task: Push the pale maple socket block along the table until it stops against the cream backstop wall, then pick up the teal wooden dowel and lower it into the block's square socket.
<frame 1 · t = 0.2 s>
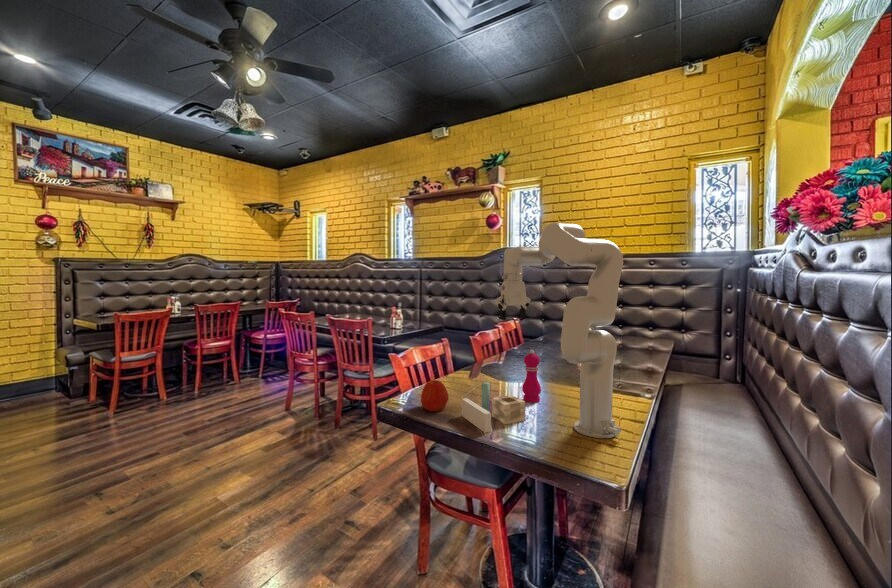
hand: (512, 319, 156), 31 cm above the table, tool pointing down, fingers open, 9 cm apart
block: (508, 409, 127), point 3 cm above the table, slide at 0.0 cm
wall: (475, 423, 123), on the table
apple: (434, 408, 138), on the table
pepper mill: (531, 400, 146), on the table
dowel: (485, 410, 135), on the table
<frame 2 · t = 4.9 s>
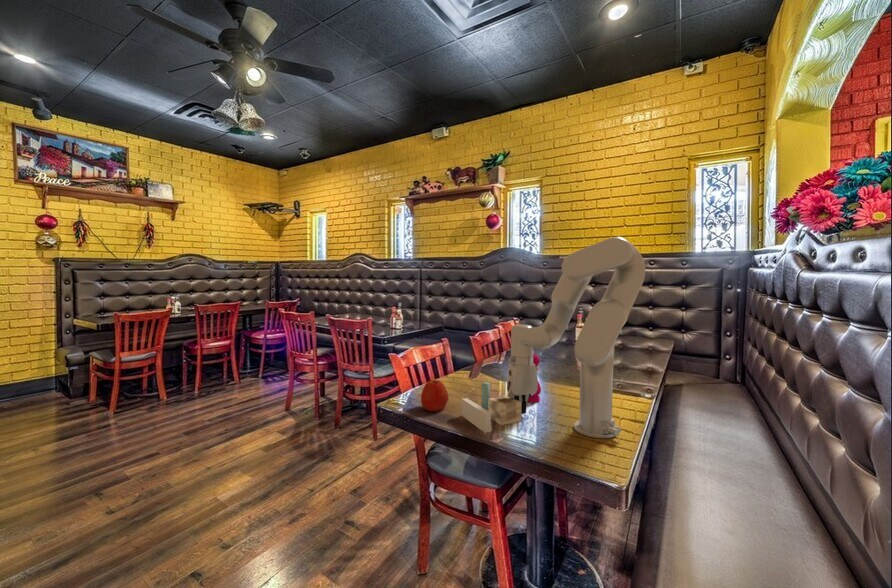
hand: (521, 412, 130), 1 cm above the table, tool pointing down, fingers closed
block: (504, 409, 127), point 3 cm above the table, slide at 1.5 cm, touching gripper
everything else where it was.
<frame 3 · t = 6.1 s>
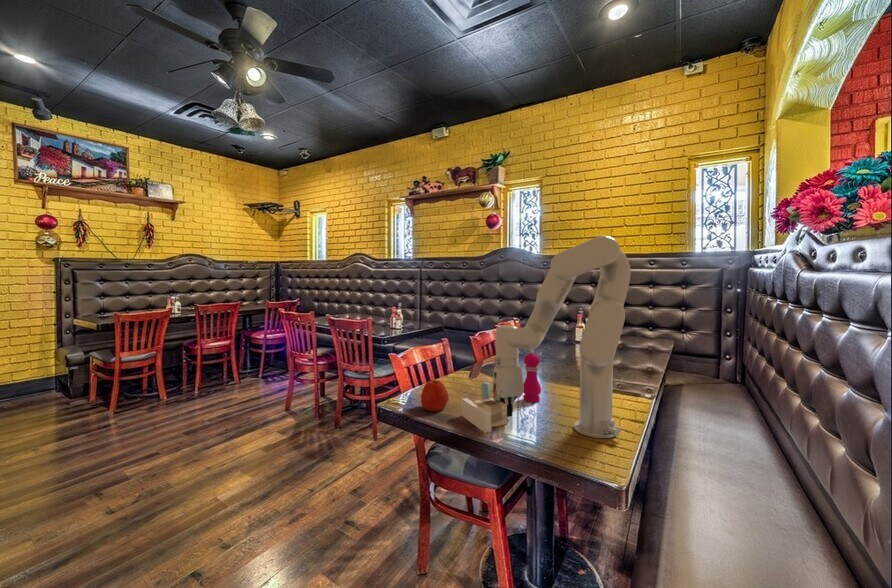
hand: (507, 415, 127), 1 cm above the table, tool pointing down, fingers closed
block: (490, 412, 124), point 3 cm above the table, slide at 7.3 cm, touching gripper, wall
everything else where it was.
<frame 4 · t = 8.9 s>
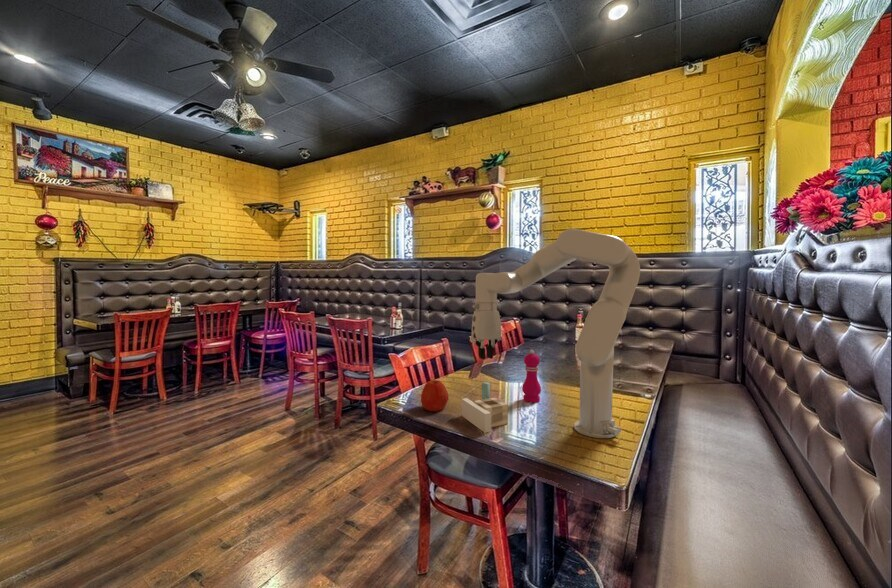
hand: (485, 357, 134), 19 cm above the table, tool pointing down, fingers closed
block: (490, 412, 124), point 3 cm above the table, slide at 7.0 cm
everything else where it was.
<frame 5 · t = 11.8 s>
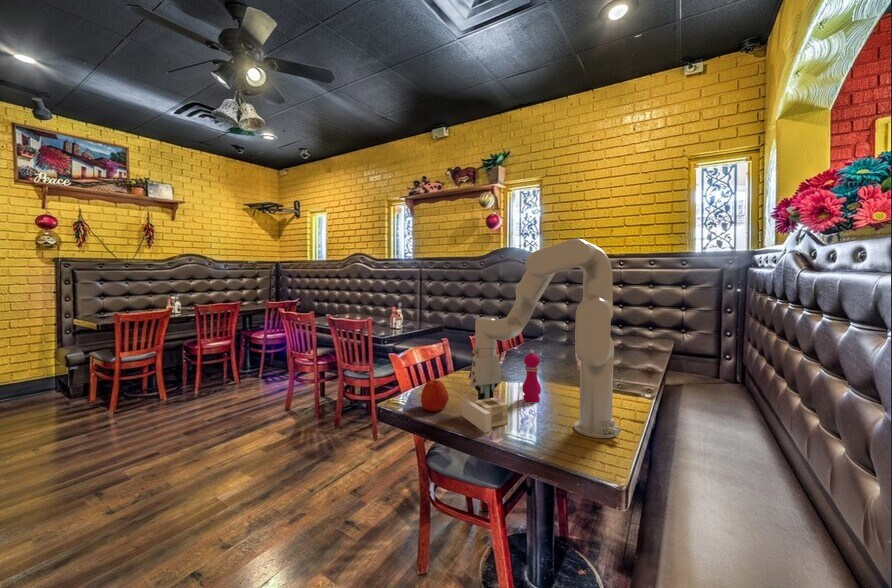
hand: (485, 401, 135), 3 cm above the table, tool pointing down, fingers closed on dowel, 2 cm apart
dowel: (485, 410, 135), on the table, touching gripper
everything else where it was.
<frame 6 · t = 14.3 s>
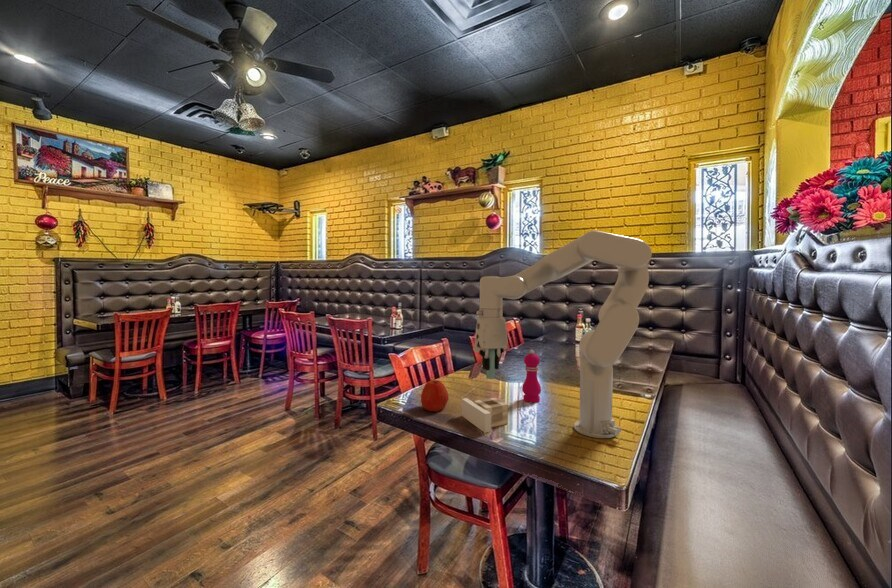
hand: (490, 368, 124), 18 cm above the table, tool pointing down, fingers closed on dowel, 2 cm apart
dowel: (490, 377, 124), point 15 cm above the table, touching gripper
everything else where it was.
when the fingers open (7 cm above the table, at t = 16.8 s): dowel drops 2 cm, resting on block.
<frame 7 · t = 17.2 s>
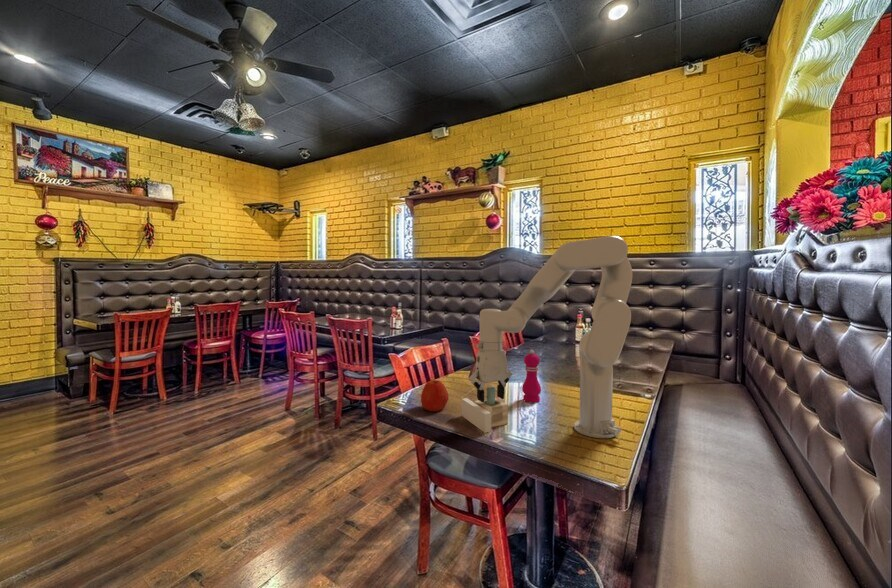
hand: (490, 398, 124), 8 cm above the table, tool pointing down, fingers open, 7 cm apart
block: (490, 412, 124), point 3 cm above the table, slide at 7.0 cm, touching dowel
dowel: (490, 417, 124), point 2 cm above the table, touching block
everything else where it was.
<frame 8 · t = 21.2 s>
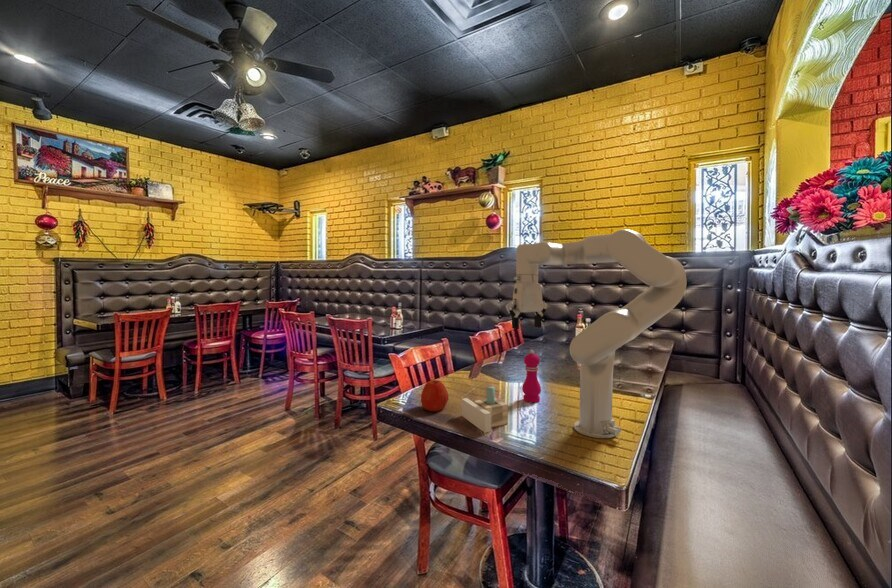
hand: (526, 328, 132), 30 cm above the table, tool pointing down, fingers open, 9 cm apart
nothing on the table moved.
at the end: block slide at 7.0 cm; dowel 0.2 cm off-centre on the block, point 1.5 cm above the block's base; dowel tilted 1° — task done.
